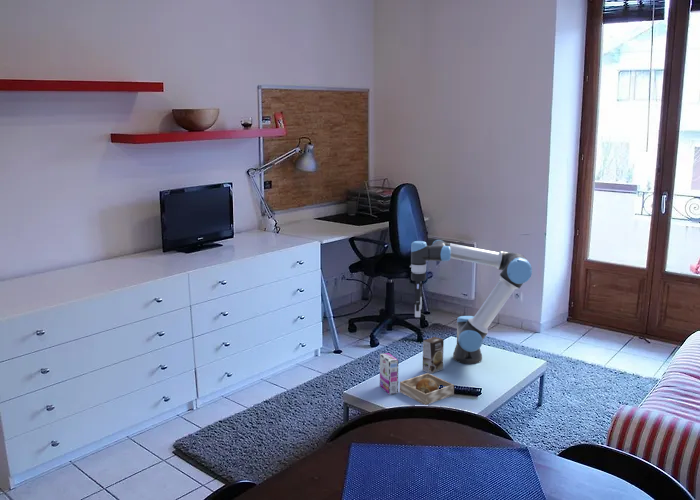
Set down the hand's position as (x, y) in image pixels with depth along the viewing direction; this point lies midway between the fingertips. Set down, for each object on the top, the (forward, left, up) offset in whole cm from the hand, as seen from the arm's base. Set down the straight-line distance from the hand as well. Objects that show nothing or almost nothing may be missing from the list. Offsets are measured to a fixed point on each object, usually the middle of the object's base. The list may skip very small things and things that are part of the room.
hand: (418, 313), depth 312 cm
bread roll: (+19, +27, -28) cm, 43 cm away
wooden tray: (+19, +27, -29) cm, 44 cm away
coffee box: (-3, +8, -29) cm, 30 cm away
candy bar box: (+30, +13, -29) cm, 44 cm away
